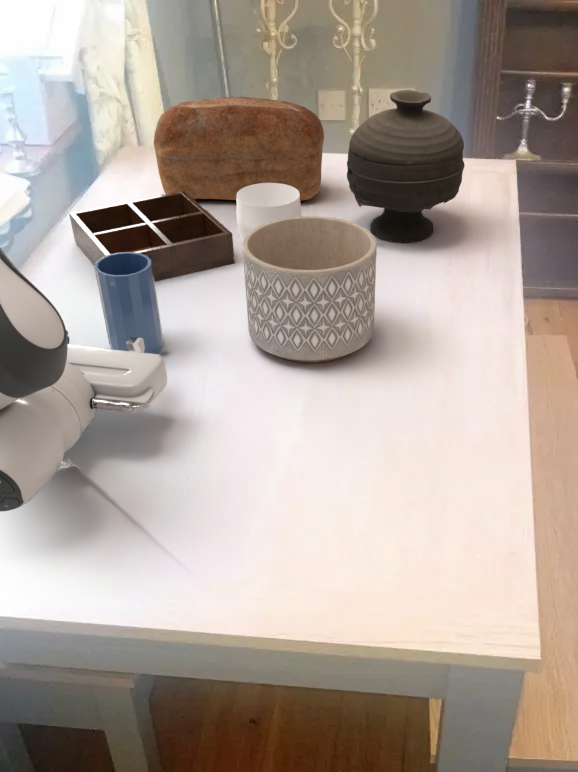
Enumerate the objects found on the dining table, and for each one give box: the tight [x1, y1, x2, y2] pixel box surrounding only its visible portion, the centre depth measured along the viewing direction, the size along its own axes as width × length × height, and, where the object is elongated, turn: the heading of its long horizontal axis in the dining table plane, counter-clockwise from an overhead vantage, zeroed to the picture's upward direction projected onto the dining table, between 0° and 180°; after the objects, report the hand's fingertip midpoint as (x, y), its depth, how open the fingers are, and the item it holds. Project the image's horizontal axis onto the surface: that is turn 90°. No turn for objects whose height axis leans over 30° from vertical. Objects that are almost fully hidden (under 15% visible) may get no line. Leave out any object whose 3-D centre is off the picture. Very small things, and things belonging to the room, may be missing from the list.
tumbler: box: [94, 252, 164, 354], centre depth 113 cm, size 7×7×11 cm
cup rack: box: [69, 191, 236, 282], centre depth 136 cm, size 19×19×4 cm
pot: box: [346, 89, 465, 244], centre depth 137 cm, size 18×18×20 cm
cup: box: [235, 183, 303, 246], centre depth 127 cm, size 9×9×12 cm
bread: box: [153, 96, 325, 202], centre depth 149 cm, size 12×28×14 cm, turn 88°
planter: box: [241, 215, 378, 363], centre depth 114 cm, size 16×16×13 cm
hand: (100, 338), depth 106 cm, fingers open, 8 cm apart
